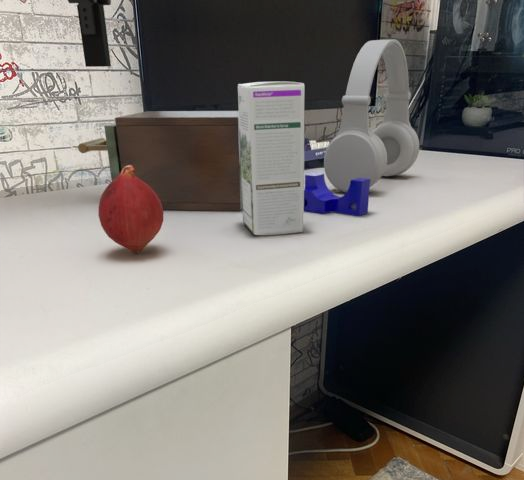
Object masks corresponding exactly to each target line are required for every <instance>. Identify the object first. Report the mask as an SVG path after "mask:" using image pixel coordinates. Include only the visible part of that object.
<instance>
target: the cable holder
mask: <svg viewBox="0 0 524 480" xmlns="http://www.w3.org/2000/svg"><path fill="white" fill-rule="evenodd" d="M370 188H371V187H370V179H366V178H357V179H353V180H351V181H350V186H349V189H348V191H347V192H346V193H344V194H343V195H341V196H339V195H336V194H334V193H333V192H332V191H331V190H330V189H329V188H328V186H327V183H326V179H325V173H320V172H319V173H317V172H312V173H307V174H304V212H310V213H317V214H322V215H323V214H324V215H325V214H328V213H337V214H343V215H350V216H356V217H357V216H358V217H361V216H363V215H366V214H368V212H369V201H370V190H371V189H370Z"/></svg>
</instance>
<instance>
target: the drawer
mask: <svg viewBox="0 0 524 480" xmlns="http://www.w3.org/2000/svg"><path fill="white" fill-rule="evenodd" d="M103 128H104V133H105V134H104V135H105V138H104V137H99V138H96V139H92V140H88V141H84V142H81V143H79V144H78V146H77V150H78V152H80V153H81V154H87V153H89V152H96V151H97V152H98V151H99V152H101V151H103V152H106V151H107V156H108V165H109V170H110V178H111V179H110V180H111V182H112V181H113V180H114V179H115V178H116V177H117V176H118V175H119V174H120V172H121V171H122V170H121V162H120V154H119V146H118V138H117V130H116V122H115V123H112V124H111V123H110V124H107V125H104V127H103Z"/></svg>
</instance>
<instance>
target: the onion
mask: <svg viewBox="0 0 524 480" xmlns="http://www.w3.org/2000/svg"><path fill="white" fill-rule="evenodd" d="M98 219H99V222H100V226H101V228H102V230H103V231H104V233H105V234H106V236H107V237H108V238H109V239H110V240H112V241H113V242H114V243H115V244H118V245H119V246H121V247H123V248H125V249H127V250H128V251H131V252H132V253H134V254H137V253H141V252H142V251H144V249H145V248H146V246H147V245H149V243H151V241H153V240H154V239H155V237H156V236H157V235H158V234H159V232H160V231H161V229H162V226H163V223H164V210H163V208H162V204H161V201H160V199H159V197H158V196H157V194H156V193H155V192H154V190H153V189H152V188H151V187H150V186H149V185H148V184H146V183H145V182H144V181H142V180H141V179H139V178H138V177H136V176H135V173H134V168H133V166H132V165H128V166H125V167H124V168H123V170H122V171H121V172H120V174H119V175H118V176H117V177H116V178H115V179H114V180H113V181H112V180H111V182H110V183H108V184H107V186H106V187H105V189H104V190H103V192H102V194H101V196H100V199H99V204H98Z"/></svg>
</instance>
